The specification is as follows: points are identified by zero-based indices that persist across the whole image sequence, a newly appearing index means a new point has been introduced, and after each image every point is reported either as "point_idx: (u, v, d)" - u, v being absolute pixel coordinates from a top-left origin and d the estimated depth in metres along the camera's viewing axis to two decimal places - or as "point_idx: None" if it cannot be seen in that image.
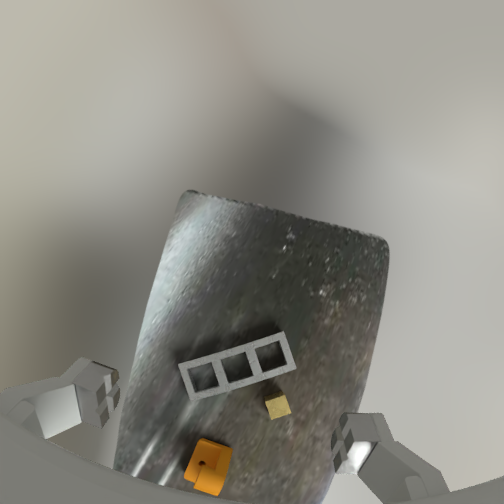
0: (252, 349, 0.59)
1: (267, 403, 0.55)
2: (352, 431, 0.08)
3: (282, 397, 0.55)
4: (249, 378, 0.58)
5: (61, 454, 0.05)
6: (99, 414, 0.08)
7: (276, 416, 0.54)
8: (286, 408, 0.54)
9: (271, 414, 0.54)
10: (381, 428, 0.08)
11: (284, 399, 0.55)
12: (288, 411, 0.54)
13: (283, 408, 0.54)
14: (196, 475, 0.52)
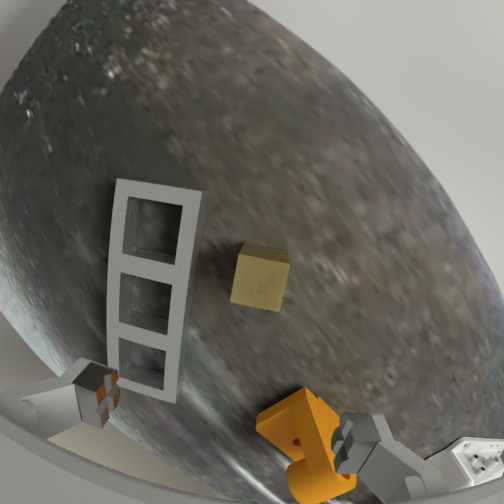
0: (121, 257, 0.27)
1: (236, 299, 0.25)
2: (352, 431, 0.08)
3: (241, 262, 0.24)
4: (173, 295, 0.27)
5: (61, 454, 0.05)
6: (99, 414, 0.08)
7: (278, 298, 0.24)
8: (274, 268, 0.24)
9: (267, 305, 0.25)
10: (381, 428, 0.08)
11: (248, 260, 0.24)
12: (283, 268, 0.24)
13: (267, 273, 0.24)
14: None
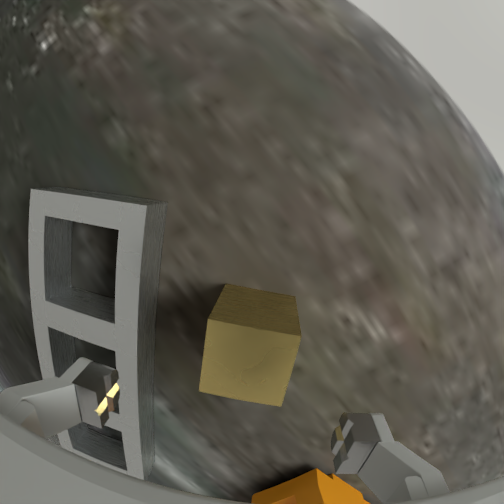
0: (45, 306, 0.16)
1: (209, 388, 0.14)
2: (352, 431, 0.08)
3: (213, 332, 0.13)
4: (119, 365, 0.16)
5: (61, 454, 0.05)
6: (99, 414, 0.08)
7: (279, 388, 0.13)
8: (272, 343, 0.13)
9: (260, 398, 0.14)
10: (381, 428, 0.08)
11: (226, 330, 0.13)
12: (288, 342, 0.13)
13: (261, 351, 0.13)
14: None
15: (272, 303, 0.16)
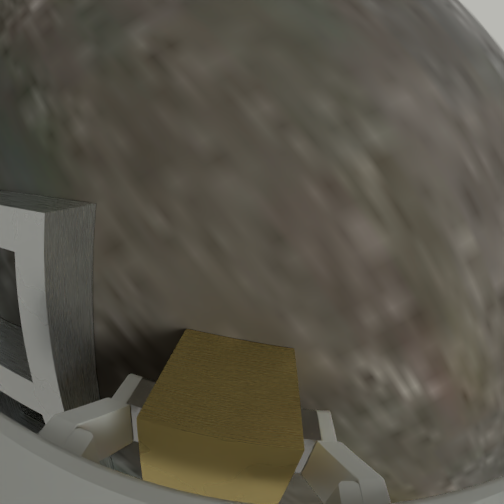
0: None
1: None
2: None
3: (149, 437, 0.06)
4: None
5: (61, 454, 0.05)
6: None
7: None
8: (252, 459, 0.06)
9: None
10: (324, 426, 0.08)
11: (170, 437, 0.06)
12: (280, 458, 0.06)
13: (233, 467, 0.06)
14: None
15: (256, 369, 0.09)
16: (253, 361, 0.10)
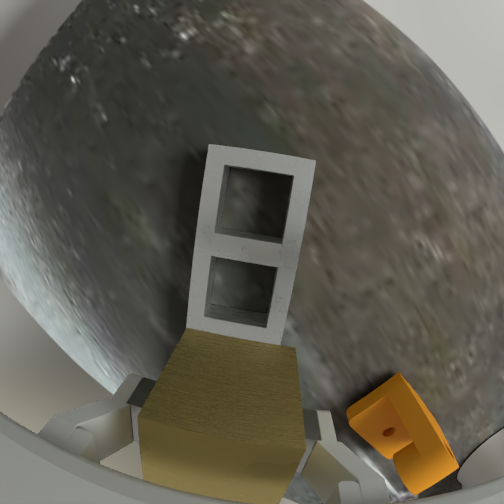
0: (213, 237, 0.24)
1: None
2: None
3: (150, 436, 0.06)
4: (278, 279, 0.24)
5: (61, 454, 0.05)
6: None
7: (268, 503, 0.07)
8: (253, 457, 0.06)
9: None
10: (324, 426, 0.08)
11: (171, 436, 0.06)
12: (282, 457, 0.06)
13: (234, 466, 0.06)
14: (400, 444, 0.28)
15: (258, 368, 0.09)
16: (254, 360, 0.10)
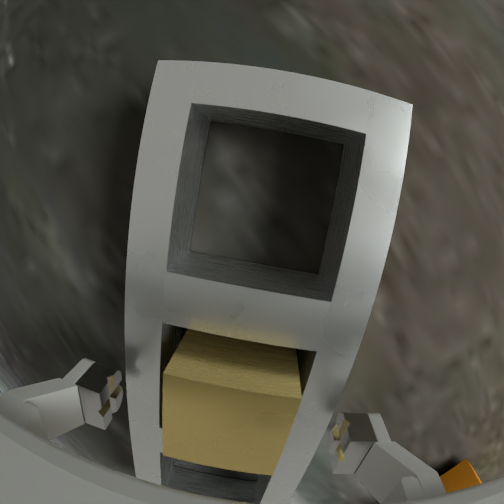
0: (164, 282, 0.10)
1: (176, 453, 0.09)
2: (348, 431, 0.08)
3: (173, 391, 0.08)
4: (316, 374, 0.10)
5: (61, 454, 0.05)
6: (102, 415, 0.08)
7: (270, 457, 0.09)
8: (258, 407, 0.08)
9: (245, 467, 0.09)
10: (378, 428, 0.08)
11: (191, 389, 0.08)
12: (282, 406, 0.08)
13: (242, 417, 0.08)
14: None
15: None
16: None
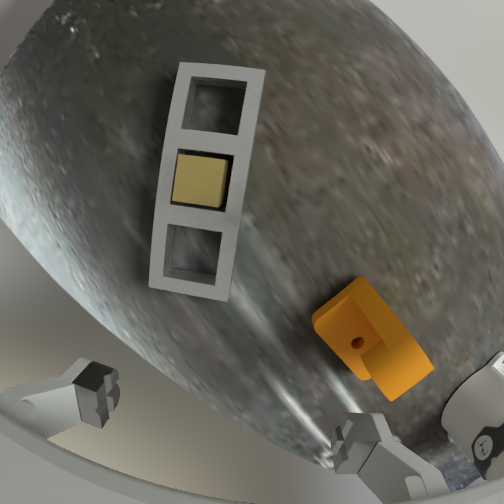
0: (180, 132, 0.26)
1: (178, 197, 0.26)
2: (352, 431, 0.08)
3: (181, 161, 0.25)
4: (235, 166, 0.27)
5: (61, 454, 0.05)
6: (99, 414, 0.08)
7: (216, 193, 0.26)
8: (210, 164, 0.25)
9: (206, 201, 0.26)
10: (381, 428, 0.08)
11: (187, 159, 0.25)
12: (218, 163, 0.25)
13: (205, 170, 0.25)
14: None
15: None
16: None
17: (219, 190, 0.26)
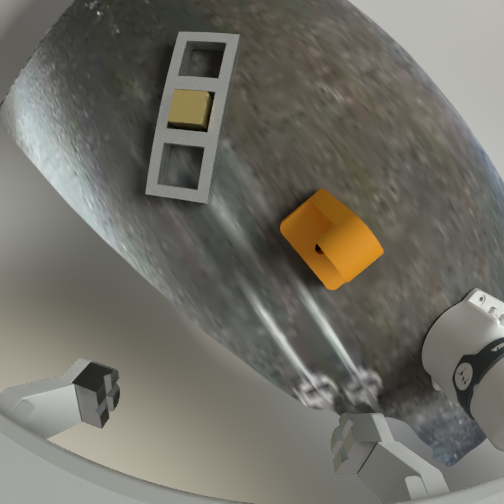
0: (177, 78, 0.33)
1: (172, 118, 0.33)
2: (352, 431, 0.08)
3: (175, 93, 0.32)
4: (215, 99, 0.34)
5: (61, 454, 0.05)
6: (99, 414, 0.08)
7: (199, 114, 0.32)
8: (196, 95, 0.32)
9: (192, 120, 0.33)
10: (381, 428, 0.08)
11: (180, 92, 0.32)
12: (202, 94, 0.32)
13: (192, 98, 0.32)
14: (337, 269, 0.38)
15: None
16: None
17: (202, 112, 0.32)
